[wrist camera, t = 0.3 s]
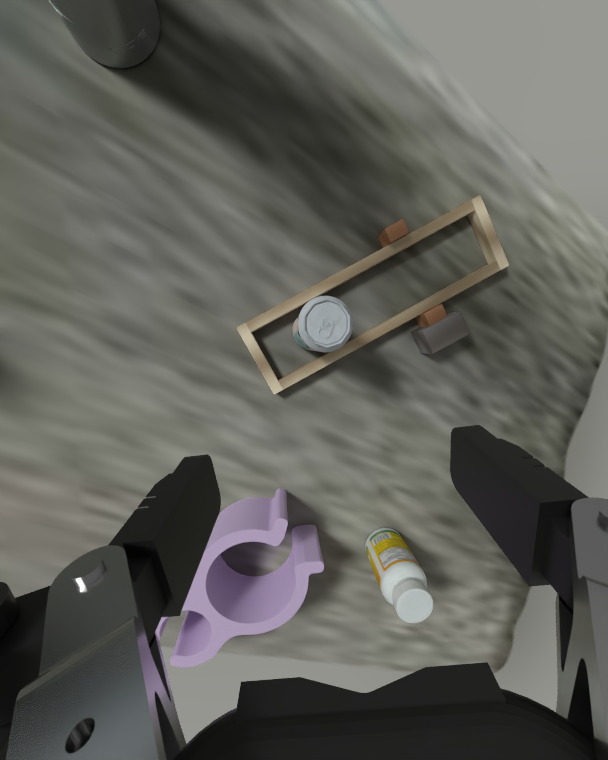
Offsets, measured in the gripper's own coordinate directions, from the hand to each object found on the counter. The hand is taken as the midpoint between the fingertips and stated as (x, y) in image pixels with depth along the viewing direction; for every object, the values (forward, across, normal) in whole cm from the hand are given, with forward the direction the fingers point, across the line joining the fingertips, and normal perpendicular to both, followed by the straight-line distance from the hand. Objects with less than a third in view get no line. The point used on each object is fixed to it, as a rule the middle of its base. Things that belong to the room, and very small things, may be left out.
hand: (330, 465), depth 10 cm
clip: (+22, +13, +26) cm, 37 cm away
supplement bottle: (+24, -6, +29) cm, 38 cm away
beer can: (+28, 0, -1) cm, 28 cm away
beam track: (+29, -8, -2) cm, 30 cm away
